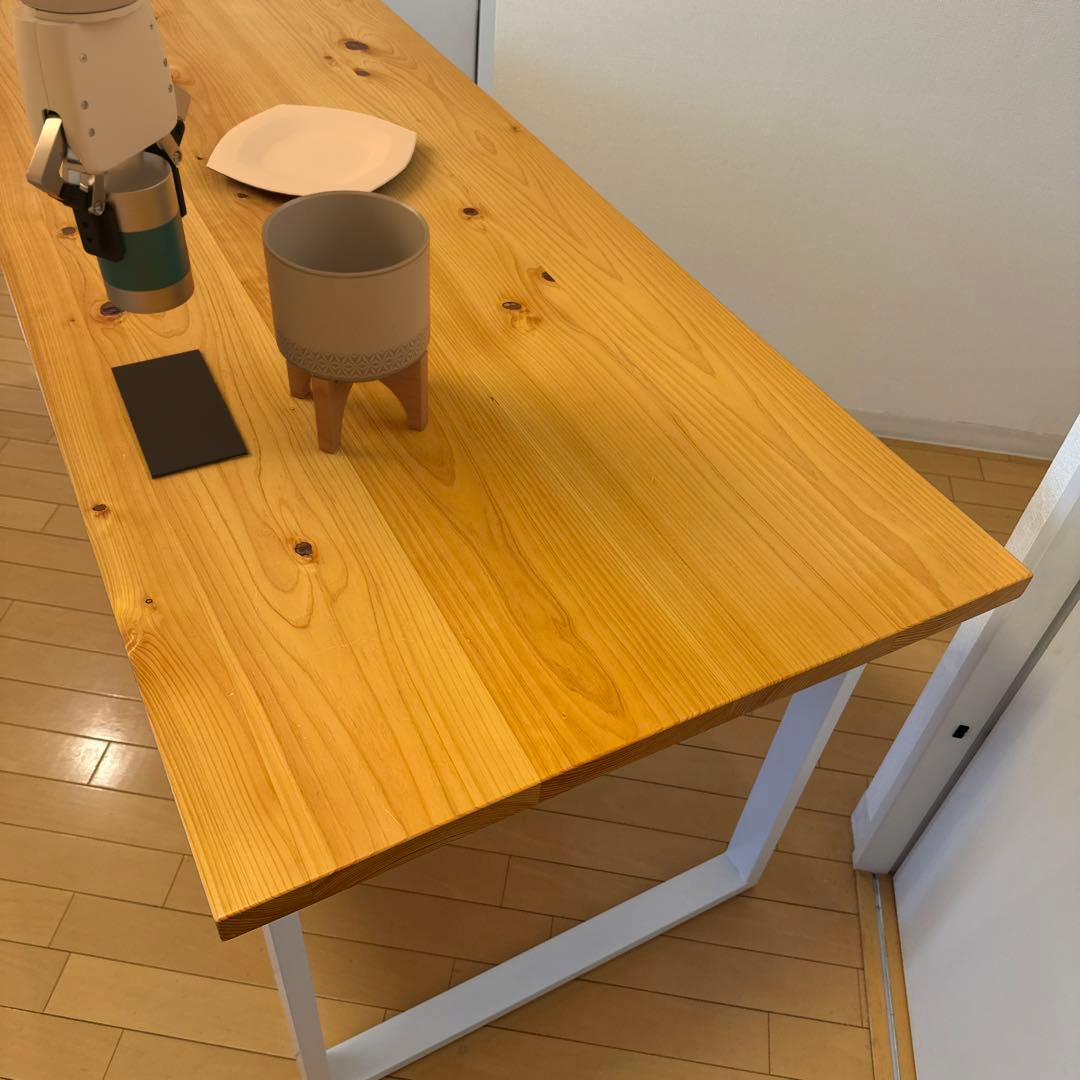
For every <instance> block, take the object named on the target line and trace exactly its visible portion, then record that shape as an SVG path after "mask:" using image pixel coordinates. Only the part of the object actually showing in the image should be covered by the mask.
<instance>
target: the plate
mask: <svg viewBox="0 0 1080 1080" xmlns="http://www.w3.org/2000/svg"><path fill="white" fill-rule="evenodd" d="M417 138H418V133H417V132H416V131H413V130H410V129H408V128H406V127H404V126H401V125H399V124H395V123H393V122H390V121H388V120H385V119H382V118H379V117H376V116H373V115H370V114H365V113H362V112H358V111H355V110H348V109H342V108H337V107H336V108H335V107H327V106H326V107H325V106H317V105H316V106H315V105H304V104H303V105H301V104H289V103H287V104H284V103H280V104H278V105H275V106H273V107H271V108H268V109H266V110H264V111H261V112H260V113H257V114H255V115H253V116H250V117H248V118H247V119H246V120H245V119H244V120H243V121H241V122H239V123H238V124H236V125H235V126H234V127H232V128H230V129H229V130H228V131H227V132H226V133H225V134H224V135H223V136H222V137H221V138H220V140H219V141H218V142H217V144H216V145H215V147H214V149H213V151H212V152H211V154H210V156H209V158H208V160H207V163H206V168H207V169H208V170H211V171H213V172H215V173H217V174H220V175H222V176H224V177H226V178H229V179H231V180H233V181H236V182H238V183H241V184H243V185H245V186H249V187H252V188H255V189H257V190H261V191H266V192H269V193H273V194H278V195H284V196H289V197H290V196H291V197H296V198H298V197H301V196H305V195H309V194H313V193H319V192H325V191H335V190H354V191H366V192H372V193H374V192H375V191H377V190H378V189H381V188H382V187H383V186H385V185H387V184H388V183H389V182H391V181H393V180H395V179H396V177H398V176H399V175H400V174H401V173H402V172H404V171H405V170H406V168H407V166H408V165H409V163H410V161H411V159H412V157H413V154H414V152H415V148H416V145H417Z"/></svg>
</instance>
